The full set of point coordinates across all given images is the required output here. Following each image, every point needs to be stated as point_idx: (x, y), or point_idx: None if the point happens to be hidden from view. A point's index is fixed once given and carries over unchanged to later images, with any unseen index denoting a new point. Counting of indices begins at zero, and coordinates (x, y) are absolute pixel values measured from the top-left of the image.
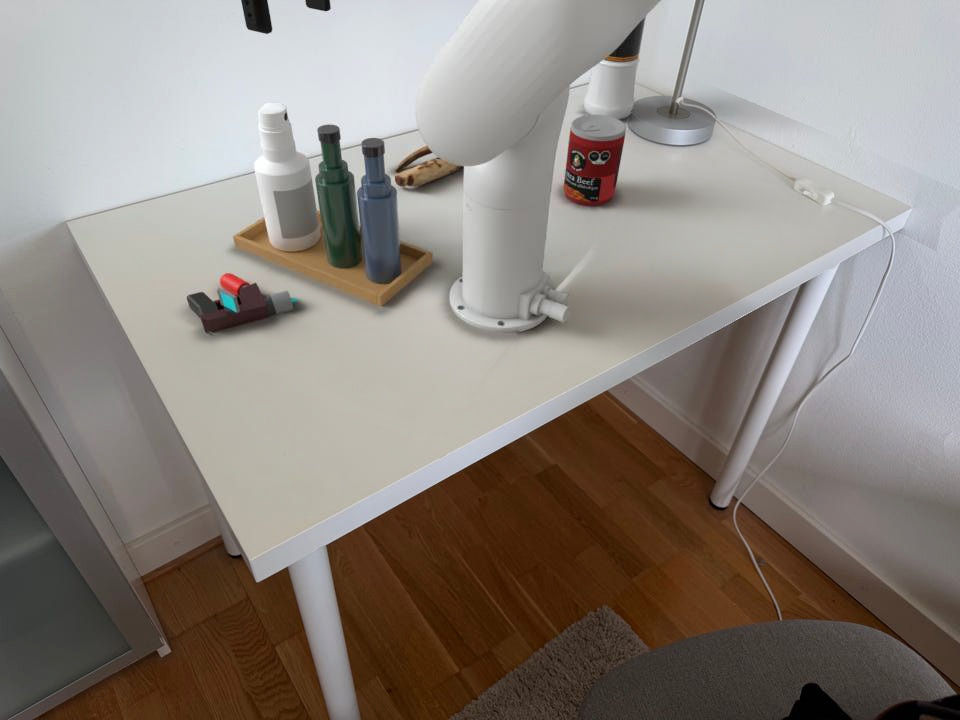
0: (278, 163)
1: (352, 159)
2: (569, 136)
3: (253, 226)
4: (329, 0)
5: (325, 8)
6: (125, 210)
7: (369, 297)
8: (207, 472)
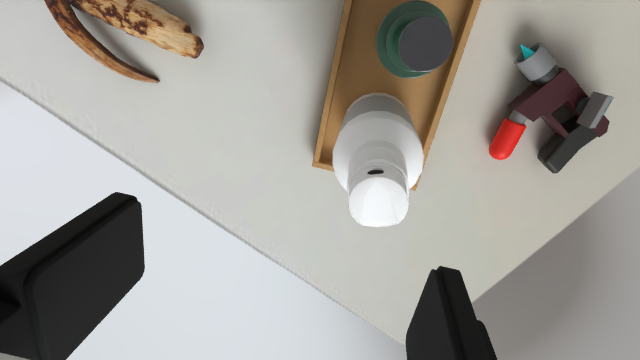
0: (404, 156)
1: (161, 153)
2: None
3: None
4: (97, 205)
5: (136, 203)
6: (375, 320)
7: None
8: None
